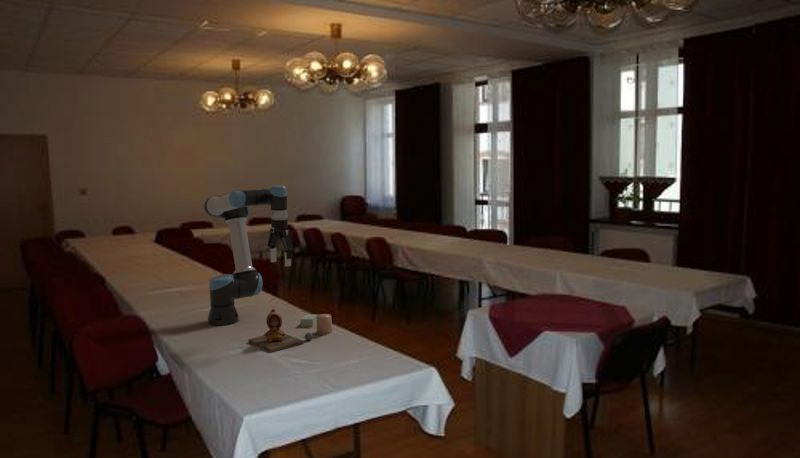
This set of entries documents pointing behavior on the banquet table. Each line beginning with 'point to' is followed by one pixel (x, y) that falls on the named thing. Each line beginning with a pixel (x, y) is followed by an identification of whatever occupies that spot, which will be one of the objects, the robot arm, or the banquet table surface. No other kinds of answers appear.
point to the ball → (308, 336)
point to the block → (308, 320)
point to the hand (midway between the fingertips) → (280, 264)
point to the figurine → (274, 327)
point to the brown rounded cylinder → (324, 324)
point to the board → (275, 343)
